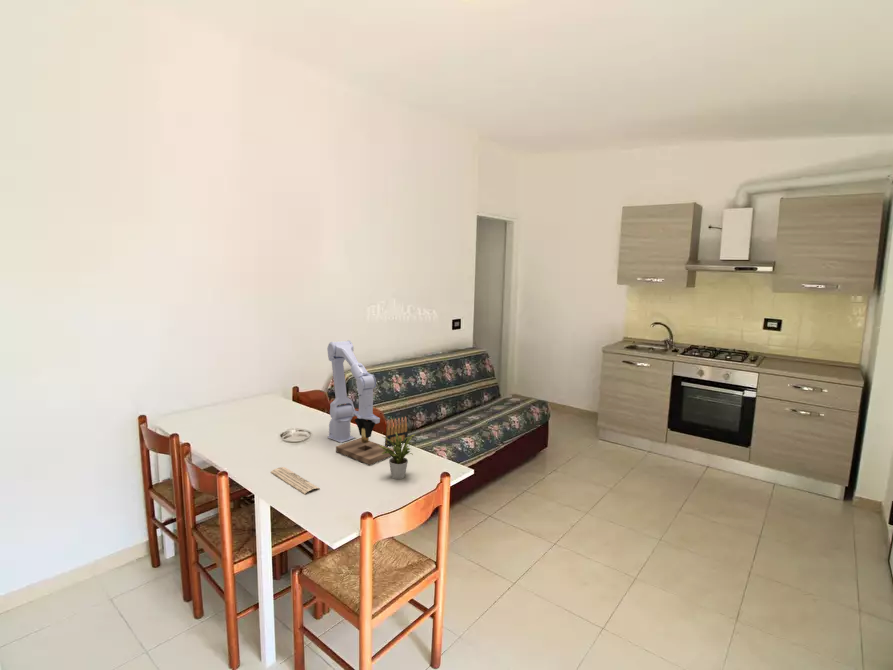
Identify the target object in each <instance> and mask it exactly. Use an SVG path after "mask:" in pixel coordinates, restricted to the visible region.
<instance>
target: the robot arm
mask: <svg viewBox="0 0 893 670" xmlns="http://www.w3.org/2000/svg"><path fill="white" fill-rule="evenodd" d="M327 356H328V361H329V362H331V370H332V377H333V385H334V386H333V387H334V394H335V398H334V400H333V401H331V402H330V404H329V407H330V409H329V415H330V418H331V419H330V420H329V423H328V436H327V438H328V439H331V440H333V441H336V442H338V443H342V444H343V443H346V442H347V441H348V442H349V441H352V440H355V436H352V435H351V420H353V417H357V418H355V419H354V422H355V424H356V426H357V429H358V432H359V436H361V429H362V427H365V433H366V438H368V437H369V438H371V436H372V432H373V429H374V427H375V425H377V424H379V423H381V422H380V421H381V418H380V417H378V416H377V415H375V414H374V411H373V410H374V409H373V408H374V405H373V404H374V389H376V386H377V379H376V377H375V375H374V374H371V373H369V371H368V370H367V368H366V367H365V366H364V364H363V363H362V362H359V361H358V359H357V357H356V355H355V353H354V345H353V342H352V341H351V340H344V341H330V342H329V343H328V345H327ZM345 361H346V362H347V364H348V365H349V367H350V372H351V374H352V375H353V377H354V379H355V380H356V383H355V385H356V389H357V393H358V410H357V409H356V408H355V405H354V402H353V400H352V399H350V398H349V397H348V394H347V384H346V377H345V367H344V362H345Z"/></svg>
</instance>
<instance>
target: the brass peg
mask: <svg viewBox="0 0 893 670" xmlns="http://www.w3.org/2000/svg"><path fill="white" fill-rule="evenodd" d="M360 438H361V442H362V443H368V442H369V441H370V437H368V438H366V433H365V427H362V429H361V437H360Z"/></svg>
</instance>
